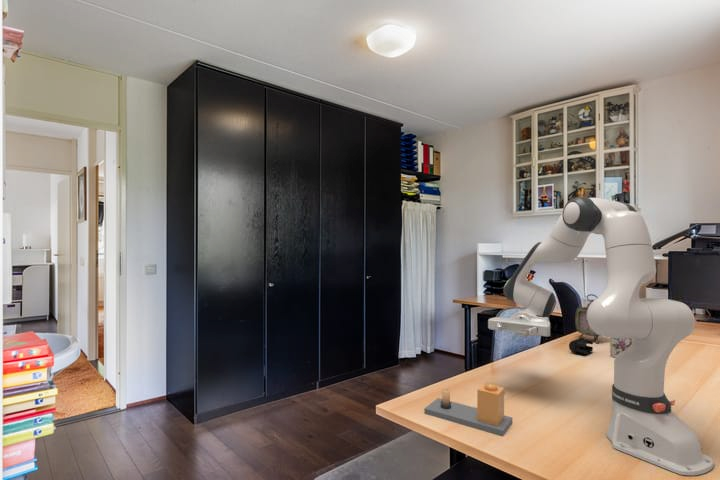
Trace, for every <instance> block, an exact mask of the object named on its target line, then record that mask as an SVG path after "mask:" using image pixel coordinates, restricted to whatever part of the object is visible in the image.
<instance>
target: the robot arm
mask: <svg viewBox="0 0 720 480" xmlns="http://www.w3.org/2000/svg"><path fill="white" fill-rule="evenodd" d="M591 234H595V235H601V236H602V237H603V241H604V250H605V257H606V258H605V259H606V266H607V267H606V268H607V269H606V270H607V276H606V278H607V279H606V283H605V286H604V288H603V290H602V292H601V294H600V295H599V296H597V297H598V298H596V299H595V300H594V299H593V300H594V301H593V302H592V303H591V302H590V303H591V304H590V306H589V308H588V310H587V321H588V324H589V326H590V328H591V329H592V330H593V331H594V332H595V333H596V334H598V335H601V336H602V337H607V338H610V337H611V338H616V339H634V341H633V343H632V344H631V346H630V347H629V348H628V349H626V350H624V351H622V352H620V353H619V354H618V355H617V356H616V358H614V361H613V384H612V385H611V401H612V408H611V410H612V411H611V417H610V421H609V425H608V428H607V430H606V433H605V434H606V437H607V438H608V439H609V440H610V442H611V447H612V448H613V449H615V450H618V451H620V452H622V453H625V454H627V455H630V456H632V457H635V458H638V459H639V460H643V461H645V462H648V463H650V464H652V465H655V466H656V467H657V466H658V467H660V468H662V469H664V470H668V471H670V472H672V473H675V474H678V475H681V476H698V475H703V474H705V473H708V472H709V471H711V470H712V469H713V468H714V459H713V458H712V457H711V456H709V455H707V454H705V453H703V452H702V446H701V442H700V439H699V436H698V435H697V434H696V432H695V431H693V430H692V429H691V428H690V427H689V426H688V425H686V424H685V422H684V421H682V419H681V418H679V417H678V416H677V415H676V414H675V413H674V412H673V411H672V406H675V405H676V403H675V402H676V400H675V399H674V400H673V399H672V400H669V399H668V397H667V396H666V394H665V392H664V391H665V373H666V367H667V362H668V359H669V357H670V355H671V353H672V352H673V350H674V349H675V348H676V346H677V345H678V344H679V343H680V342H681V341H683V340H684V339H685V338H687V337H689V336H690V335H692V333H693V331H694V330H695V327H696V319H695V318H696V317H695V315H694V313H693V311H692V309H691V308H690V306H688V305H687V304H686V303H684V302H682V301H678V300H673V299H668V298H662V297H661V298H658V297H657V298H655V297H651V298H650V297H640V291H641V287H642V286H643V285H645V284H648V283H649V282H650V281H651V280H653V279H654V278H655V276H656V273H657V267H656V263H655V261H656V260H655V257H654V256H655V255H654V251H653V250H654V249H653V243H652V240H651V235H650V232H649V229H648V225H647V224H646V221H645V219H644V217H643V216H642V214H640V213H639V212H637V210H636V208H635V207H634V206H632V205H630V204H629V203H626V202H623V201H616V200H611V199H607V198H603V197H587V196H578V197H574V198H571V199H570V200H568V201H567V202H566V203H565V204H564V207H563V210H562V213H561V214H560V216H559V217H558V219H557V220H556V222H555V223H554V225H553V227H552V230H551V231H550V234H549V235H548V237H547V238H546V239H544V241H539V242H537V243H536V244H534V245H533V246H532V247H531V249H529V251H528V252H527V254H526V255H525V257H524V258H523V260H522V261H521V263H520V264H519V266H518V267H517V268H516V270H515V271H514V272H513V274H512V276H511V277H510V278H509V279H508V280H507V281H506V283H505V284H504V286H503V294H504V297H505V298H506V300H508V301H510V302H512V303H514V304H515V303H516V304H517V305H519V306H521V307H523V309H521V310H519V311H516V312H515V313H513V314H512V315H511V316H510V318H509V317H507V318H506V317H499V316H496V317H490V318H488V320H487V328H488V329H489V330H493V331H497V332H508V333H514V334H515V335H516V336H519V337H522V338H525V337H533V336H537V337H545V338H546V337H551V322H550V317H551V315H552V314H553V312H554V310H555V308H556V305H557V300H556V296H555V293H554V292H553V291H550V290H549V289H546V288H544V287H543V286H540V285H538V284H536V283H533V282H531V281H529V280H528V279H527V276H528V274H529V273H530V271H531V270H532V269H533V267H534V266H535V264H537V263H553V264H565V263H569V262H572V261H574V260H575V259H577V258H578V256H579V255H580V254H581V252H582V250H583V248H584V246H585V244H586V242H587V240H588V237H589V236H590V235H591Z"/></svg>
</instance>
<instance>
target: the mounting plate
mask: <svg viewBox="0 0 720 480" xmlns="http://www.w3.org/2000/svg"><path fill="white" fill-rule="evenodd" d="M450 399H451V391H450V390H449V389H442V390H441V398H440V397H437V398H436V399H434V400H433V401H432V402H431V403H429V404H428V405H427V406H426V407H424V412H423V413H424V414H426V415H430V416H432V417H435V418H440V419H444V420H445V421H449V422H454V423H458V424H460V425H463V426H466V427H470V428H474V429H477V430H481V431H484V432H488V433H491V434H495V435H497V436H502V437H504V435H505V434H506V433H507V431H508V429H509V428H510V426H512V424H513V417H512V416H509V415H506V414H504V419H503V420H502V421H501V423H500V424H499V425H498V426H496V425H492V424H489V423H485V422H482V421H478V420H477V407H476V406H470V405H466V404H464V403H463V404H462V403H460V402H459V403H458V402H455V401H451V400H450Z"/></svg>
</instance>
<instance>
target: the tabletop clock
mask: <svg viewBox="0 0 720 480" xmlns="http://www.w3.org/2000/svg"><path fill="white" fill-rule="evenodd" d="M589 296H591V297H592V296H593V297H595V298H596V299H597V298H598V297H599V296H597V295H596V294H592V293H589V294H588V295H587V296H586V299H587V301H588V302H589V303H587V305H586V306H582V307H577V308H576V310H575V313H574V314H575V315H574V319H575V320H574V322H575V329H576V331H577V332H578V333H580V335H579V336H578V339H579V338H582V337H583V335H585V336H589V337H593V341H595V344H599V343H600V341H599V337H600V336H602V335H598V334H596V333H595V332H594V331H593V330H592V329H591V328H590V326H589V324H588V321H587V310H588V308H589V306H590V304H591V303H592V302H593V301H594V299H591V300H590V299H589Z"/></svg>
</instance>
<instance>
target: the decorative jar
mask: <svg viewBox="0 0 720 480" xmlns="http://www.w3.org/2000/svg"><path fill="white" fill-rule="evenodd" d="M609 338H610V339H609V340H610V343H609V346H610V347H609V349H610V350H609V354H610V357H611V358H614V359H615V358H616V356H617V355H618V354H619V353H620V352H622V351H624V350H626V349H628V348H629V347H630V346H631V344H632V343H633V341H634V339H616V338H611V337H609Z"/></svg>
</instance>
